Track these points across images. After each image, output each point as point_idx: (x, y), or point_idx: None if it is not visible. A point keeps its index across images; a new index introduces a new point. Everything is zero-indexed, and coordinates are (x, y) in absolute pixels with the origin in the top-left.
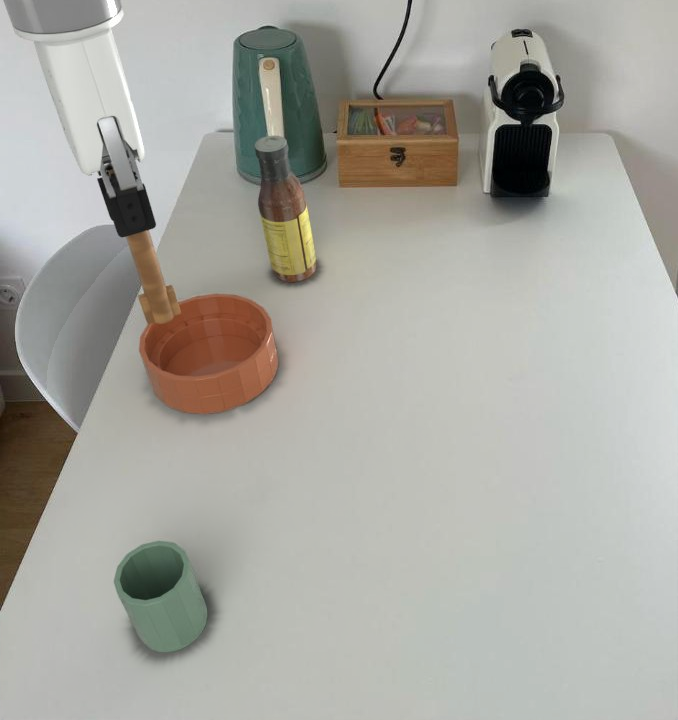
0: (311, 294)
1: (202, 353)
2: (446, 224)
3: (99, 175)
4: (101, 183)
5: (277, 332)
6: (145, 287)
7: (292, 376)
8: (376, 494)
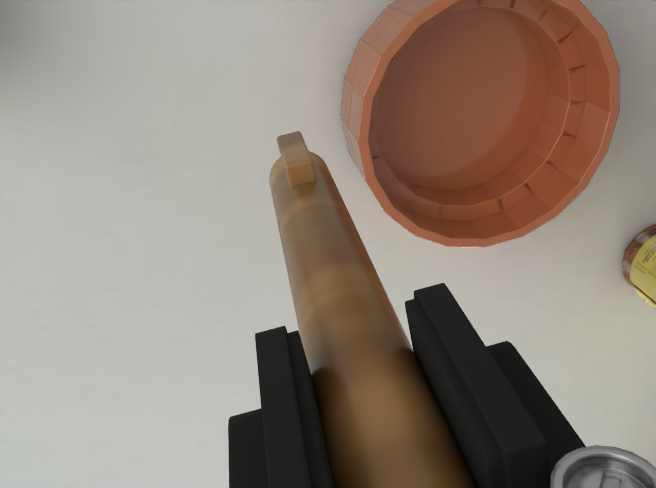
0: (581, 273)
1: (507, 81)
2: None
3: (553, 474)
4: (497, 449)
5: None
6: (288, 212)
7: (395, 227)
8: (110, 318)
